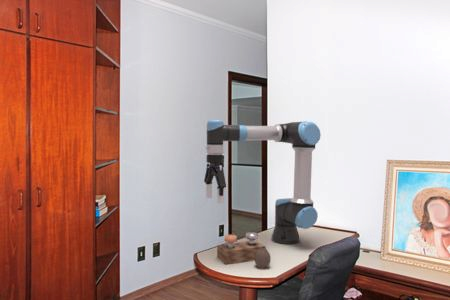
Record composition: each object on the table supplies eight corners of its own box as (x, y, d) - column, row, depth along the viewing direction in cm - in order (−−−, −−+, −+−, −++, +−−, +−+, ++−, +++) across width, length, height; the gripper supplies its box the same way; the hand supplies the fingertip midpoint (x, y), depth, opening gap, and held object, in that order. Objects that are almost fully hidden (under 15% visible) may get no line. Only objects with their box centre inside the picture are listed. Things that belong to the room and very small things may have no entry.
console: (254, 252, 178) (254, 240, 178) (265, 258, 169) (265, 246, 169) (217, 257, 170) (217, 245, 170) (226, 264, 161) (226, 251, 161)
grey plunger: (253, 245, 175) (254, 231, 175) (259, 248, 170) (259, 234, 170) (243, 246, 173) (243, 232, 173) (249, 249, 168) (249, 235, 168)
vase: (271, 269, 156) (272, 249, 156) (256, 269, 155) (256, 249, 155) (268, 263, 163) (269, 244, 162) (253, 264, 162) (253, 244, 162)
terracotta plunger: (233, 247, 171) (233, 234, 170) (238, 251, 166) (238, 237, 165) (222, 249, 168) (222, 235, 168) (227, 252, 163) (227, 238, 163)
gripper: (197, 152, 176) (197, 196, 176) (218, 155, 153) (217, 205, 154) (212, 152, 179) (211, 195, 179) (234, 155, 156) (233, 204, 157)
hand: (214, 200), depth 167 cm, fingers open, 13 cm apart
